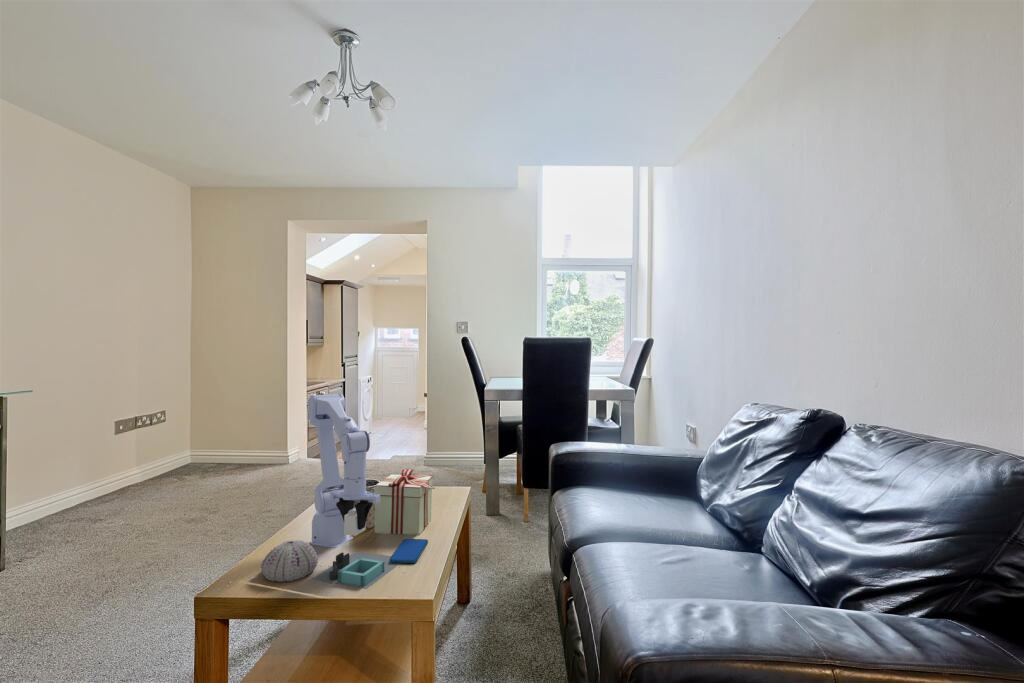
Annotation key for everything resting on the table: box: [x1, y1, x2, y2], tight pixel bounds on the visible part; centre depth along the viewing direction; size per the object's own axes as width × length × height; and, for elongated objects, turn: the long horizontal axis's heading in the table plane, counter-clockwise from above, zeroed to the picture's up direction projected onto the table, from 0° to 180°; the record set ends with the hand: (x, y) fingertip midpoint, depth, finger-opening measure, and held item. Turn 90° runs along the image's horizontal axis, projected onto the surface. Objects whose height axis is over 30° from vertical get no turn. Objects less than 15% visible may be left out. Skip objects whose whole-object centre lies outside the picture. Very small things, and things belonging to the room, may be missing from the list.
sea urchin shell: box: [260, 539, 319, 583], centre depth 126 cm, size 13×14×8 cm
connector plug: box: [344, 507, 367, 537], centre depth 134 cm, size 4×4×6 cm
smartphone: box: [390, 538, 429, 564], centre depth 138 cm, size 7×1×15 cm
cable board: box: [311, 550, 401, 590], centre depth 128 cm, size 16×18×4 cm
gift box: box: [373, 469, 436, 536], centre depth 160 cm, size 17×18×17 cm
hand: (354, 527), depth 134 cm, fingers closed on connector plug, 3 cm apart
